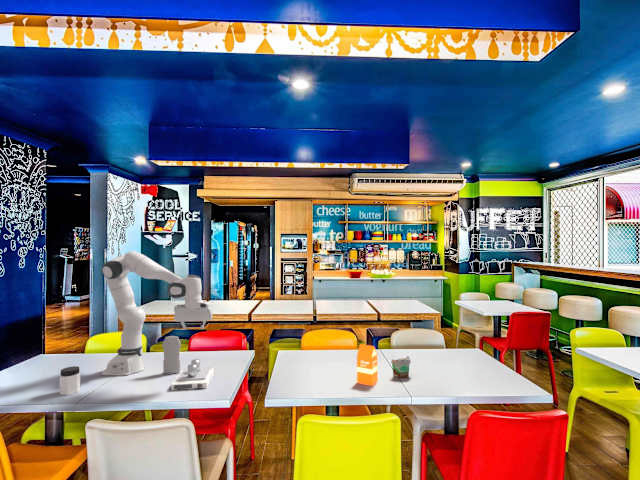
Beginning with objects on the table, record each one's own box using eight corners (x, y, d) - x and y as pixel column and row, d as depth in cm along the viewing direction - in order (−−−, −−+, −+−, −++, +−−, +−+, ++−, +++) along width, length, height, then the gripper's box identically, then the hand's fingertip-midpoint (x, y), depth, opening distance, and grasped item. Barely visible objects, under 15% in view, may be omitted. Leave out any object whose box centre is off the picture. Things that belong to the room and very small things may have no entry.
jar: (77, 387, 193) (77, 365, 193) (82, 391, 188) (82, 368, 188) (57, 392, 186) (57, 369, 186) (62, 396, 181) (62, 372, 181)
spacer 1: (189, 372, 203) (189, 361, 203) (193, 369, 207) (193, 359, 208) (197, 372, 202) (197, 361, 202) (201, 369, 207) (201, 359, 207)
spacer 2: (186, 378, 194) (186, 366, 194) (188, 375, 198) (188, 364, 199) (195, 377, 195) (195, 366, 195) (197, 374, 199) (197, 363, 199)
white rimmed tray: (170, 390, 187) (170, 383, 187) (181, 375, 209) (181, 368, 209) (206, 388, 189) (206, 381, 189) (213, 373, 212) (213, 366, 212)
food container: (398, 380, 198) (398, 362, 198) (391, 377, 203) (391, 359, 203) (415, 376, 203) (415, 359, 204) (408, 373, 209) (407, 356, 209)
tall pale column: (161, 374, 211) (161, 337, 211) (164, 372, 215) (163, 335, 216) (179, 374, 212) (179, 336, 212) (182, 371, 216) (181, 334, 216)
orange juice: (371, 385, 191) (371, 348, 191) (356, 382, 196) (356, 345, 196) (377, 381, 198) (377, 344, 198) (363, 378, 202) (362, 342, 203)
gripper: (172, 305, 196) (172, 331, 196) (211, 304, 198) (211, 329, 198) (175, 303, 202) (175, 328, 202) (212, 302, 205) (213, 327, 204)
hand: (193, 329), depth 200 cm, fingers open, 8 cm apart
